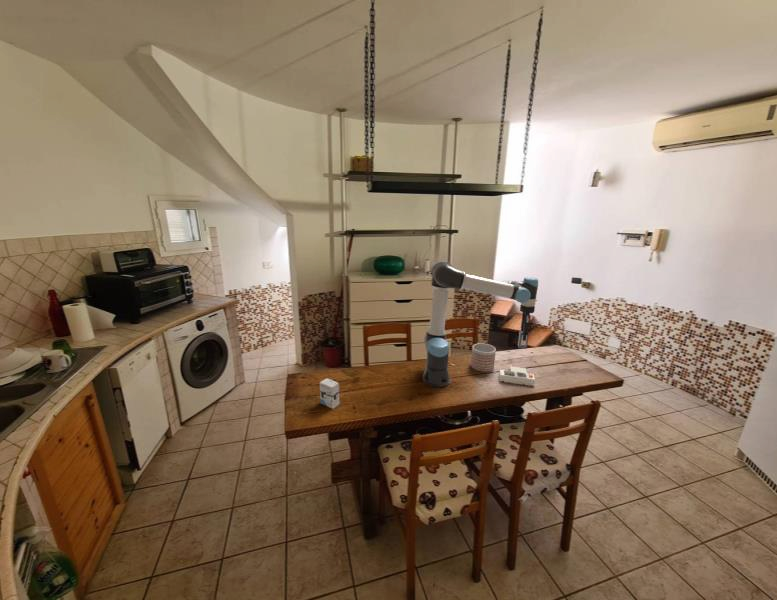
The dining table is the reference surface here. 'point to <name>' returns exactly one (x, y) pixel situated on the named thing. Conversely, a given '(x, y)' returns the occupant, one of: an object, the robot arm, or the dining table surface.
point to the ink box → (329, 393)
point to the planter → (483, 357)
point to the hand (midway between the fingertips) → (522, 343)
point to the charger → (520, 340)
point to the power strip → (517, 377)
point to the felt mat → (518, 369)
